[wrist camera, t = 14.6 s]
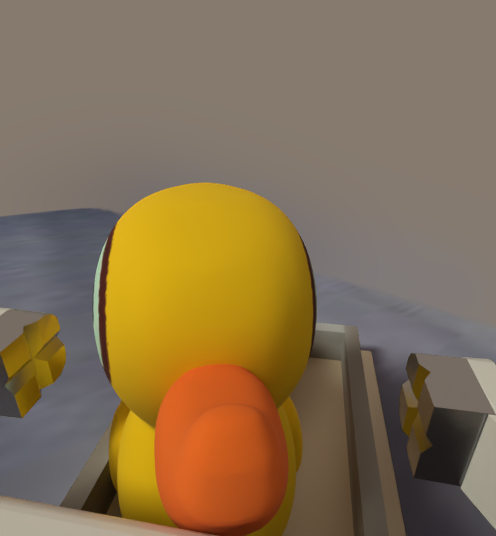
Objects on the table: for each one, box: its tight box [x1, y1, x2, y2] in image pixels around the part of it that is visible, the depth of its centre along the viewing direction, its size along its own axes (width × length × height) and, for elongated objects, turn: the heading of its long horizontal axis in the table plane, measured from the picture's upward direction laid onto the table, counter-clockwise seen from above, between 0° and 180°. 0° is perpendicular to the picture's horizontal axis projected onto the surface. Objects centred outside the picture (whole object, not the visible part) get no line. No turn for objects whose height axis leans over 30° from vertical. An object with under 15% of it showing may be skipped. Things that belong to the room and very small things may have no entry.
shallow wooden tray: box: [60, 323, 406, 536], centre depth 13 cm, size 10×14×2 cm
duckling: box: [93, 183, 317, 536], centre depth 10 cm, size 11×5×10 cm, turn 9°
